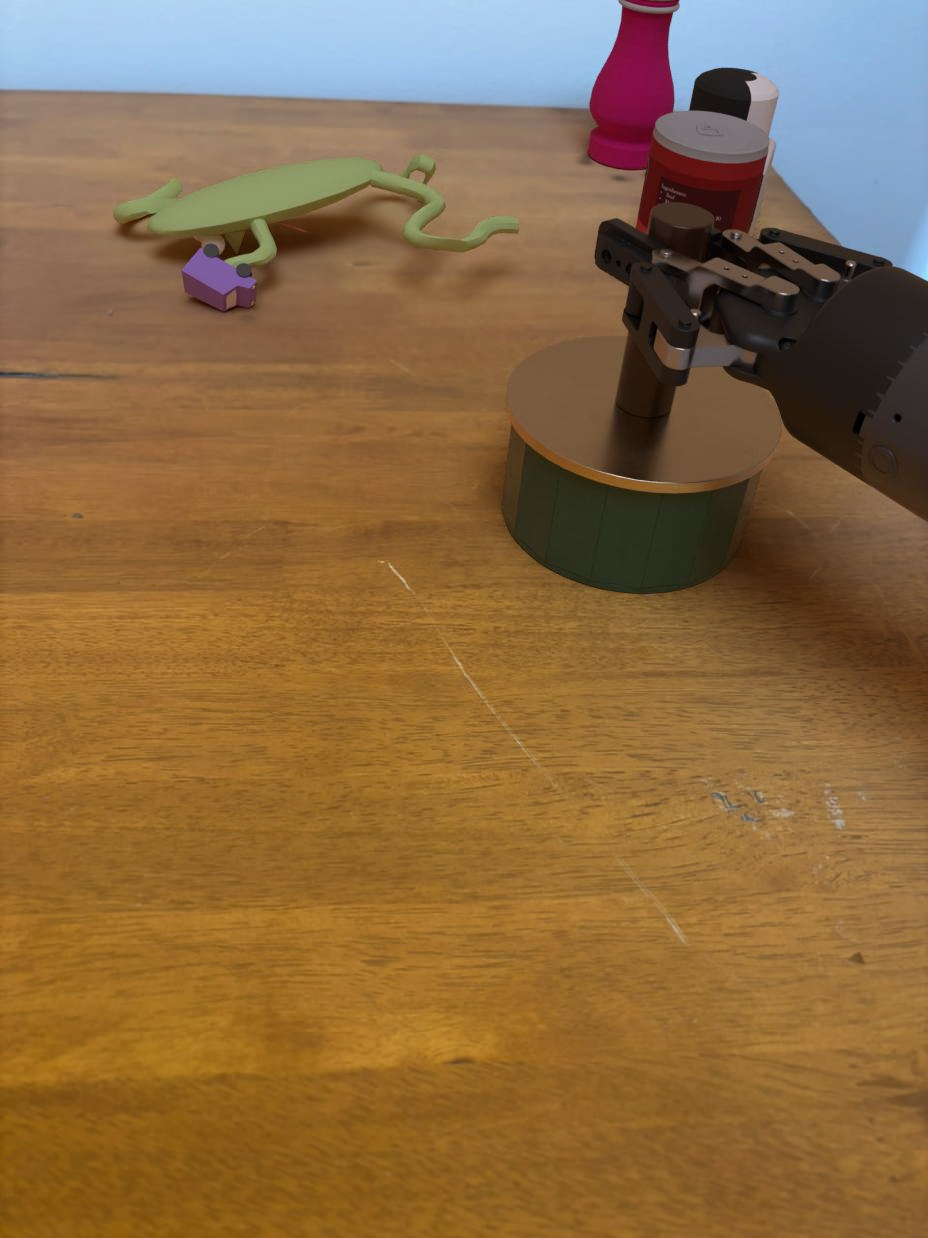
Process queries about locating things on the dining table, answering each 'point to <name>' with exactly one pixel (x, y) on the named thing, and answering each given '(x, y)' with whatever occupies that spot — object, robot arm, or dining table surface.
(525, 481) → the tin
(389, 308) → the dining table surface
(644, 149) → the pepper mill
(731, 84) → the medicine bottle
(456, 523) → the dining table surface
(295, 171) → the figurine
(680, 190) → the canned food
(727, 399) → the tin lid
